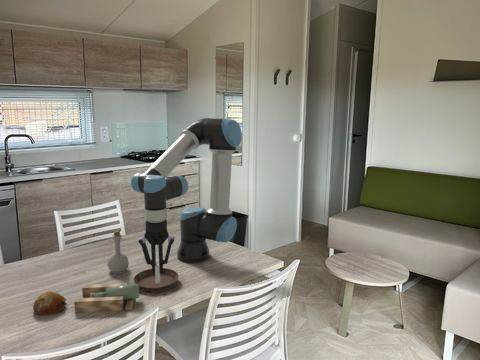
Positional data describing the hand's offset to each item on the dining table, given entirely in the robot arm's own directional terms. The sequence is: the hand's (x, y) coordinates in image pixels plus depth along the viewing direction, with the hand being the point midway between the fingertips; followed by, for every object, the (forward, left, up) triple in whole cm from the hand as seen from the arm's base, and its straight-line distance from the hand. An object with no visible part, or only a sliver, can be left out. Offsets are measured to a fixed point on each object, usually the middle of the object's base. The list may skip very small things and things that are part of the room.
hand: (158, 281), depth 149 cm
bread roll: (+37, +3, -8) cm, 38 cm away
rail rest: (+18, 0, -7) cm, 20 cm away
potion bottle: (+19, -28, -7) cm, 34 cm away
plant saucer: (+2, -14, -8) cm, 16 cm away
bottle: (+7, 0, -3) cm, 8 cm away
